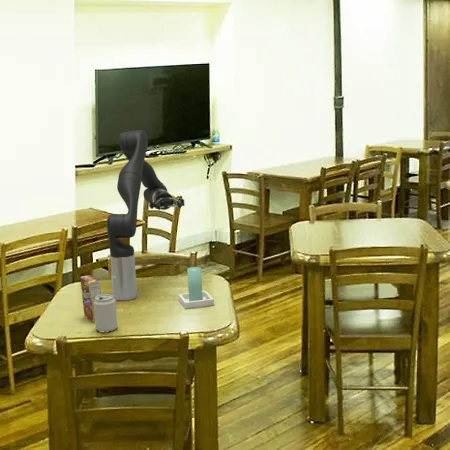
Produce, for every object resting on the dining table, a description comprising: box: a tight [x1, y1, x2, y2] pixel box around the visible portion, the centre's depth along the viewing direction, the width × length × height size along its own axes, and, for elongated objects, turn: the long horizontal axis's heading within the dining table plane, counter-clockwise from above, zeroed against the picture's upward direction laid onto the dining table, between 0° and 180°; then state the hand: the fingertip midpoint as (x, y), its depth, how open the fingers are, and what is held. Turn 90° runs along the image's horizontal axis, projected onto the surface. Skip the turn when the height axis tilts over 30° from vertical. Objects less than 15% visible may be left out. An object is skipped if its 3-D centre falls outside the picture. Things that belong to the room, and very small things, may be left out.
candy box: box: [79, 274, 102, 323], centre depth 277 cm, size 9×4×15 cm, turn 33°
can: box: [94, 293, 118, 333], centre depth 266 cm, size 8×8×12 cm
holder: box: [178, 290, 215, 310], centre depth 291 cm, size 11×11×2 cm
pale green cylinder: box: [186, 266, 203, 302], centre depth 289 cm, size 5×5×13 cm
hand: (169, 206), depth 311 cm, fingers open, 8 cm apart
